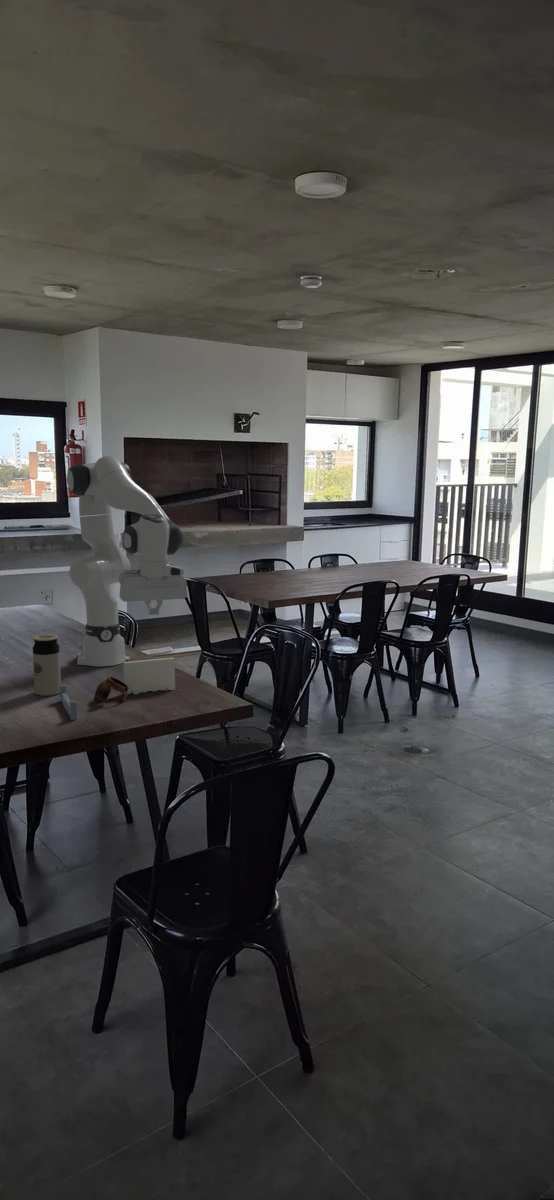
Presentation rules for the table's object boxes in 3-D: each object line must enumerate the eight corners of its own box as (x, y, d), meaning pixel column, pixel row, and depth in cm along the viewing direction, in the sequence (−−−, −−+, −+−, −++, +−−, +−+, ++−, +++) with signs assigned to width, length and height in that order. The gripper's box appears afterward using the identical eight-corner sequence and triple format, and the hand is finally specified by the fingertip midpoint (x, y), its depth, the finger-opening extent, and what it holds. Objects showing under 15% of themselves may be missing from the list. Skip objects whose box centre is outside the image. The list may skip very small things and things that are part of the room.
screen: (123, 692, 253) (122, 661, 252) (172, 686, 260) (172, 656, 258) (126, 695, 250) (125, 664, 248) (176, 689, 256) (175, 659, 254)
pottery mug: (97, 697, 250) (111, 674, 250) (122, 712, 248) (136, 689, 248) (82, 698, 238) (96, 674, 238) (108, 714, 236) (122, 690, 236)
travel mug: (54, 687, 257) (52, 632, 254) (65, 693, 251) (63, 637, 248) (30, 692, 252) (27, 636, 249) (41, 698, 246) (38, 640, 243)
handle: (60, 700, 244) (59, 684, 243) (65, 700, 244) (64, 684, 243) (71, 720, 226) (70, 703, 225) (77, 719, 226) (76, 702, 225)
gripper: (121, 572, 235) (121, 618, 237) (188, 569, 242) (188, 614, 245) (116, 568, 240) (117, 614, 243) (182, 566, 248) (182, 610, 251)
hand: (153, 614), depth 244 cm, fingers closed
